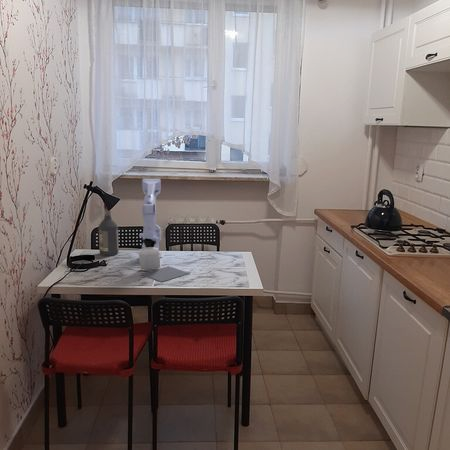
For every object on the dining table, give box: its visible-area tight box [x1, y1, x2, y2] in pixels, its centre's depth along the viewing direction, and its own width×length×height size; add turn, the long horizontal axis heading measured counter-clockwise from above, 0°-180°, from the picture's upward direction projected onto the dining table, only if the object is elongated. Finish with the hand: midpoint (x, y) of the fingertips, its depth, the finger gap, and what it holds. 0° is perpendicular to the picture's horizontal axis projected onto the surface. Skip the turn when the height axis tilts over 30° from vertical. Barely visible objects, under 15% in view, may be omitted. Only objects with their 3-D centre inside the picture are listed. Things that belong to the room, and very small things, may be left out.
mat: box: [140, 265, 190, 283], centre depth 219 cm, size 16×18×1 cm
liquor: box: [98, 203, 119, 257], centre depth 250 cm, size 9×9×30 cm
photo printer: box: [138, 247, 161, 271], centre depth 223 cm, size 10×4×12 cm, turn 98°
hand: (149, 253), depth 225 cm, fingers closed
